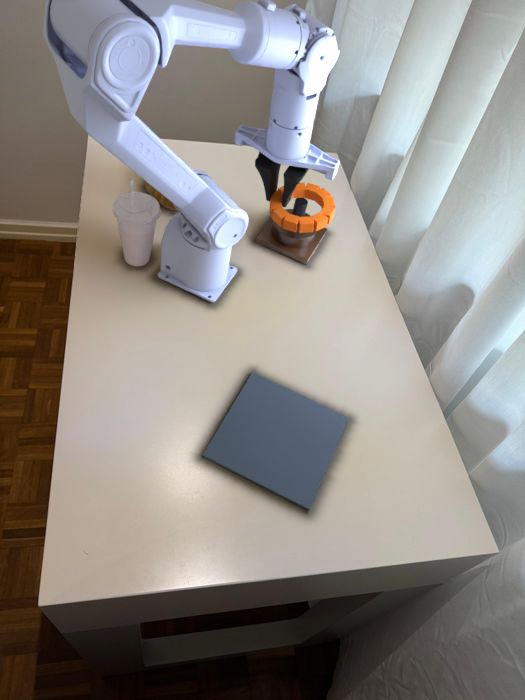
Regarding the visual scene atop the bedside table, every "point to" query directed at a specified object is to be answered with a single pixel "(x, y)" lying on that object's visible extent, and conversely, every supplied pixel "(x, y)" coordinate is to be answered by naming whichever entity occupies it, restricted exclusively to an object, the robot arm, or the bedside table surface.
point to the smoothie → (136, 224)
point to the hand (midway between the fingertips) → (278, 200)
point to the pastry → (159, 197)
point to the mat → (277, 440)
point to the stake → (292, 236)
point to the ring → (307, 222)
